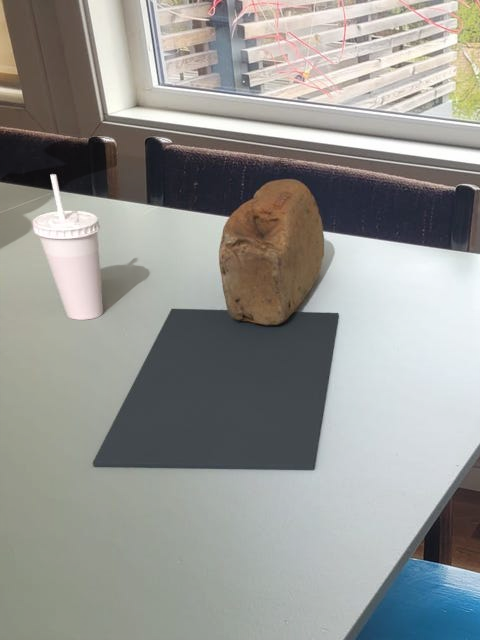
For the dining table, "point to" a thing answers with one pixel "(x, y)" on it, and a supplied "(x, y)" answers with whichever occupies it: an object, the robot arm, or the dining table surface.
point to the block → (271, 253)
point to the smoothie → (72, 257)
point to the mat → (226, 394)
